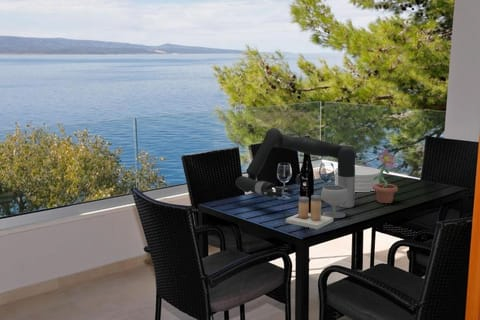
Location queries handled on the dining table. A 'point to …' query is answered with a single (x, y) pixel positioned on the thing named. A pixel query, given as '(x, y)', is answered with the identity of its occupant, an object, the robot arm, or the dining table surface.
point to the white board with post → (312, 216)
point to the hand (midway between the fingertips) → (287, 193)
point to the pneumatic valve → (299, 179)
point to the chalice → (334, 199)
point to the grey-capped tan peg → (303, 208)
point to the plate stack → (363, 178)
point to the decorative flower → (384, 189)
